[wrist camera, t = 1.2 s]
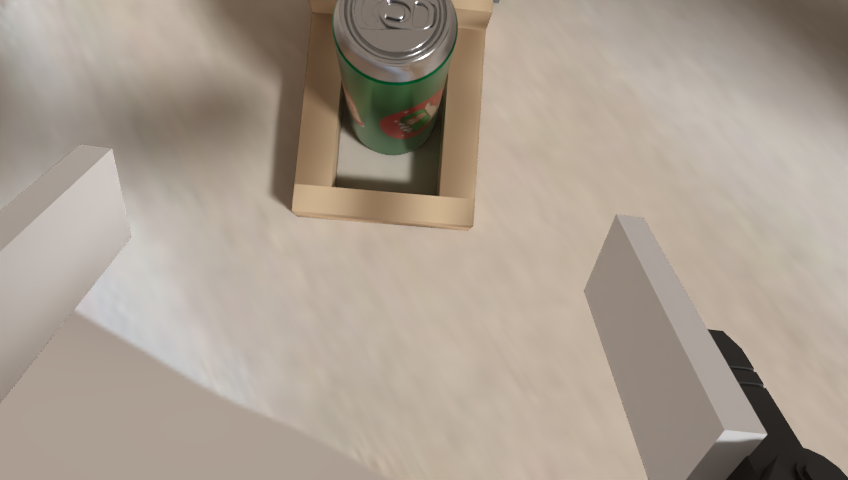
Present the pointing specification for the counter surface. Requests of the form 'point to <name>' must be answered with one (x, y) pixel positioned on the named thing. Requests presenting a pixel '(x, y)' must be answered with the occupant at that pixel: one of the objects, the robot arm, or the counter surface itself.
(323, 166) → the oak frame
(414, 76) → the soda can
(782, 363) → the counter surface
